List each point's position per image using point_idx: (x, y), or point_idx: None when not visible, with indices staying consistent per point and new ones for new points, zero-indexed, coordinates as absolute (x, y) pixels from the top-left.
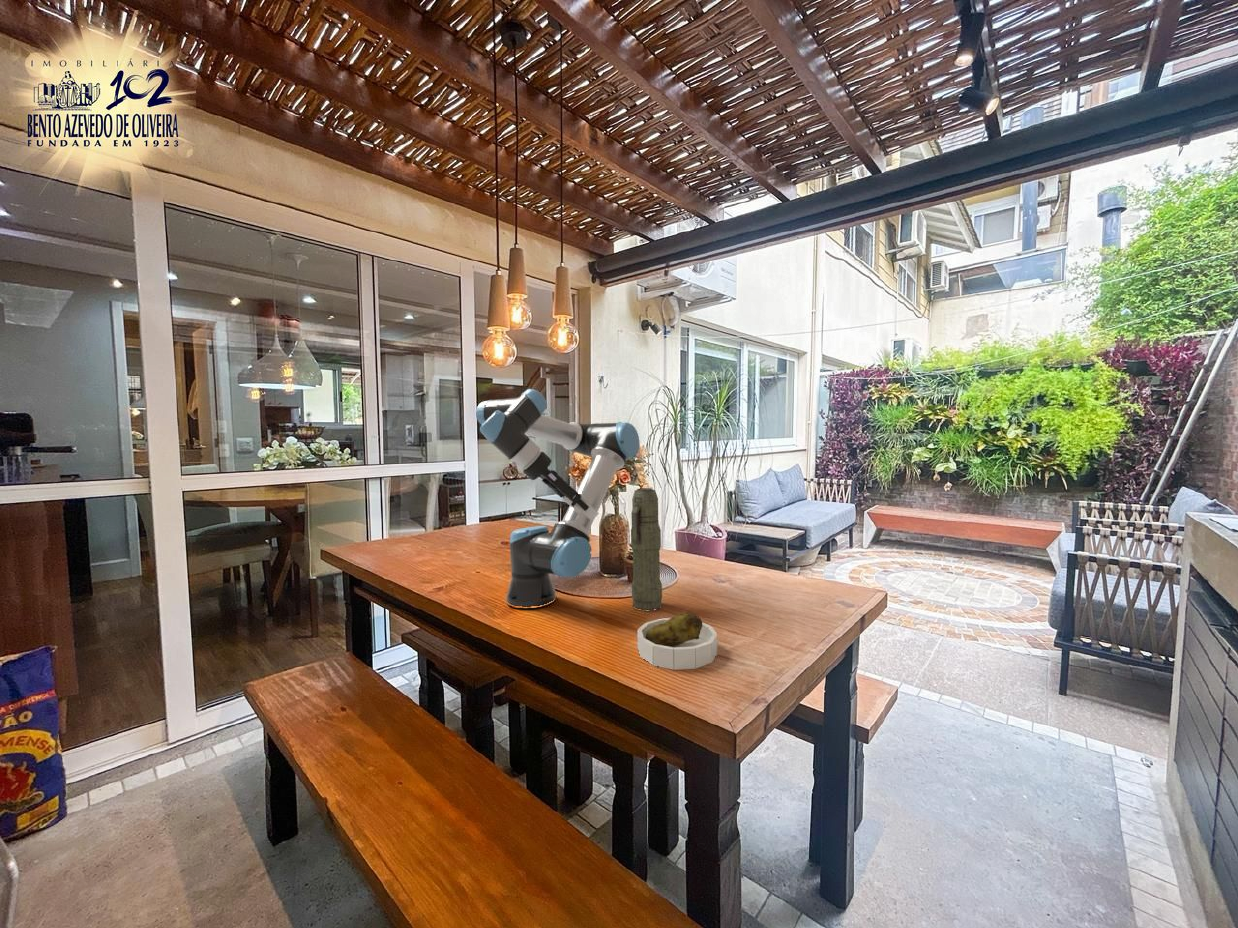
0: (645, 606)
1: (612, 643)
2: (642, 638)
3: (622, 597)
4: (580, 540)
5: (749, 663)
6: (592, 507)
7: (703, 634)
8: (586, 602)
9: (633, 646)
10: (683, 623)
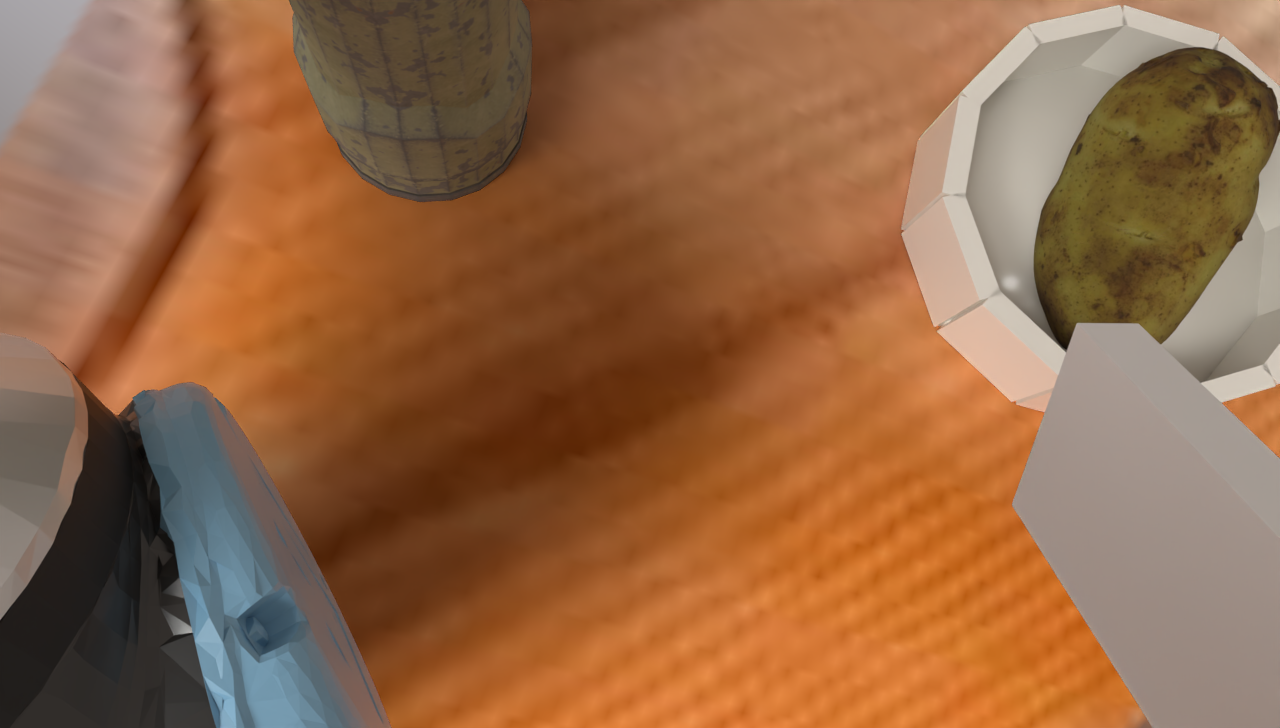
0: (513, 142)
1: (913, 509)
2: None
3: (184, 193)
4: (270, 552)
5: (1270, 17)
6: (1274, 456)
7: (1065, 59)
8: None
9: (981, 414)
10: (1265, 165)
